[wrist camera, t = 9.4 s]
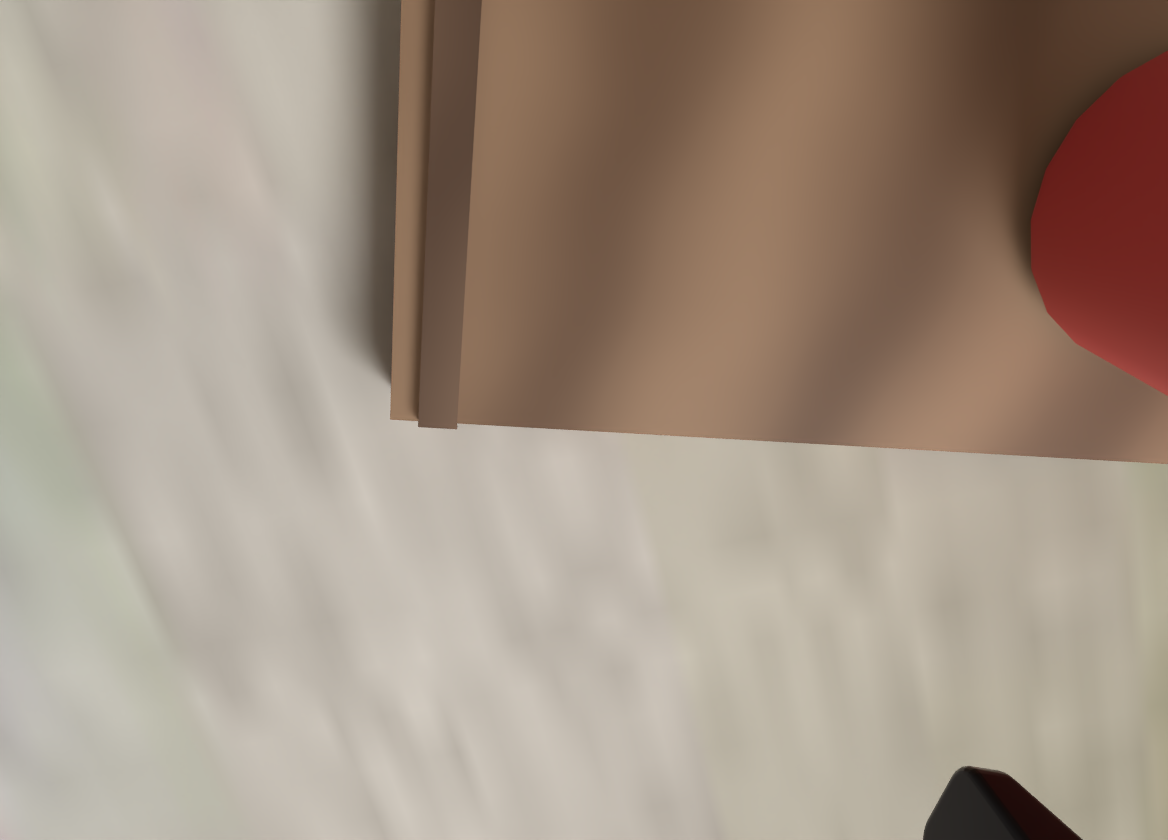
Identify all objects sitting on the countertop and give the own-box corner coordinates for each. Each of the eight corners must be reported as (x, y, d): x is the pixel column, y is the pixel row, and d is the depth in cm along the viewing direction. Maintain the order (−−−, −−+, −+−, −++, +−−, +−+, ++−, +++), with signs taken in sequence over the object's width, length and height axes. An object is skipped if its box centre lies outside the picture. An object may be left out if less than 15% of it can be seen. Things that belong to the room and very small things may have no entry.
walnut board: (396, 392, 20) (389, 425, 18) (414, -247, 15) (407, -280, 14) (1185, 441, 23) (1239, 473, 21) (1404, -88, 18) (1496, -100, 17)
